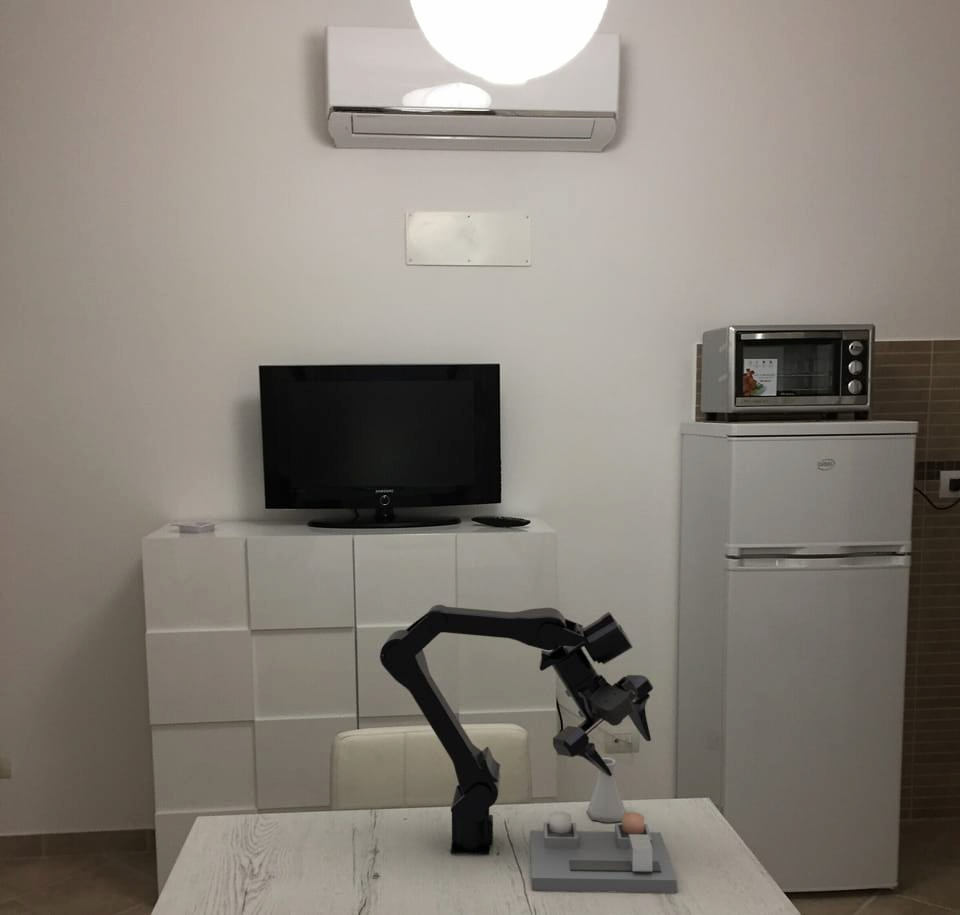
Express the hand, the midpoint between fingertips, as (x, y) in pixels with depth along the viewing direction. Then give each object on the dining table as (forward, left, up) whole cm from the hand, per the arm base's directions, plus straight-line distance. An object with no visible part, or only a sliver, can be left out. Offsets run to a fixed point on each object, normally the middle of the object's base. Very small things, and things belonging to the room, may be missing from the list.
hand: (629, 757), depth 144 cm
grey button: (-11, -1, -12) cm, 16 cm away
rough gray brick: (+1, -9, -13) cm, 16 cm away
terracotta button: (+1, -1, -12) cm, 12 cm away
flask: (-2, +13, -16) cm, 21 cm away
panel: (-5, -5, -16) cm, 17 cm away
